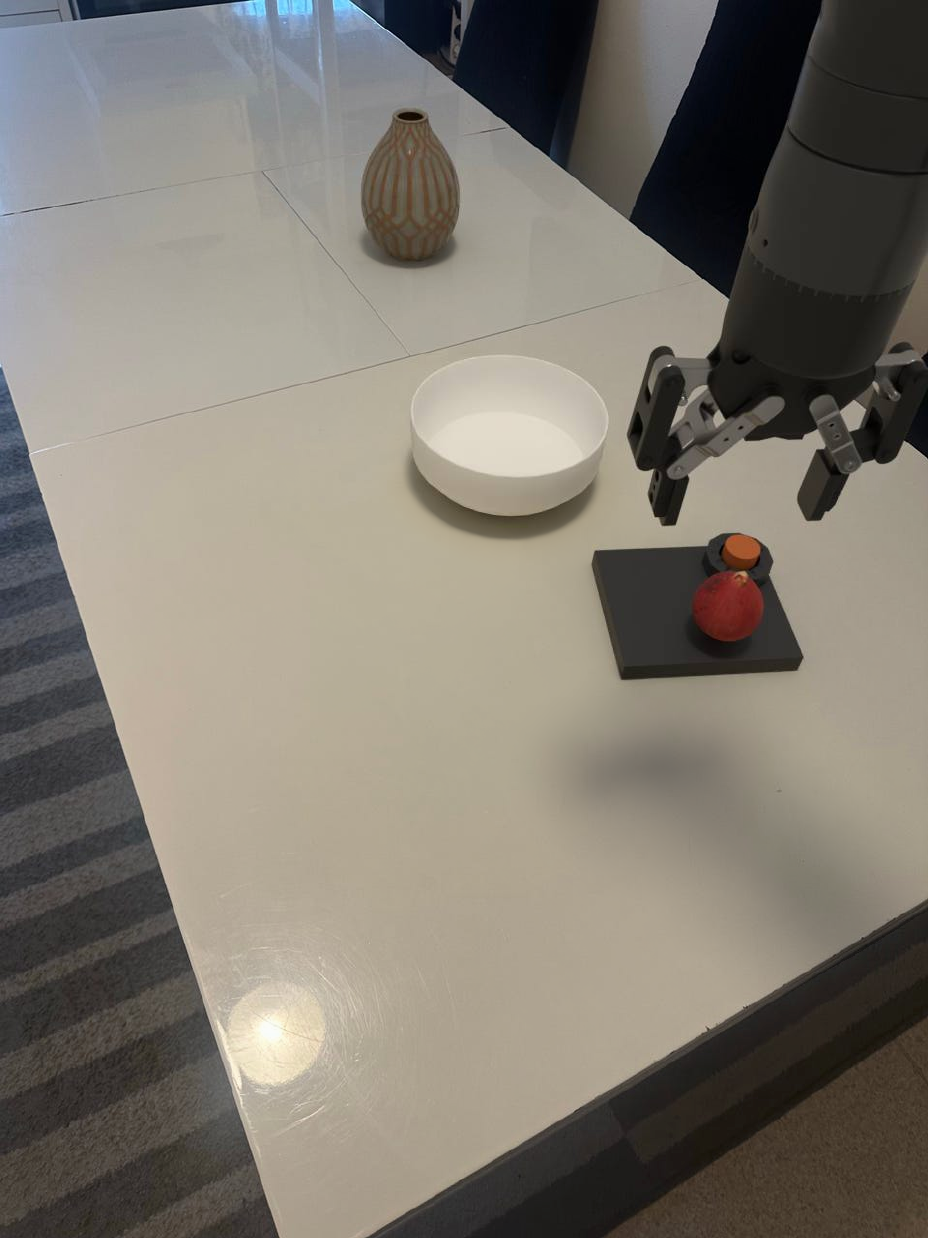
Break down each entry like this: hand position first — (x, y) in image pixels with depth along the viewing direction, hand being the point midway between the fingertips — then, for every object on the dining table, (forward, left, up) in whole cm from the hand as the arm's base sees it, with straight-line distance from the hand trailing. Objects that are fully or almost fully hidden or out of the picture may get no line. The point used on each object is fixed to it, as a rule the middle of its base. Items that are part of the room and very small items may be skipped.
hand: (736, 513), depth 53 cm
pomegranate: (-9, -12, -26) cm, 30 cm away
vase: (+14, -84, -28) cm, 90 cm away
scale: (-8, -16, -28) cm, 33 cm away
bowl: (+7, -36, -28) cm, 46 cm away
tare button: (-13, -20, -25) cm, 35 cm away
